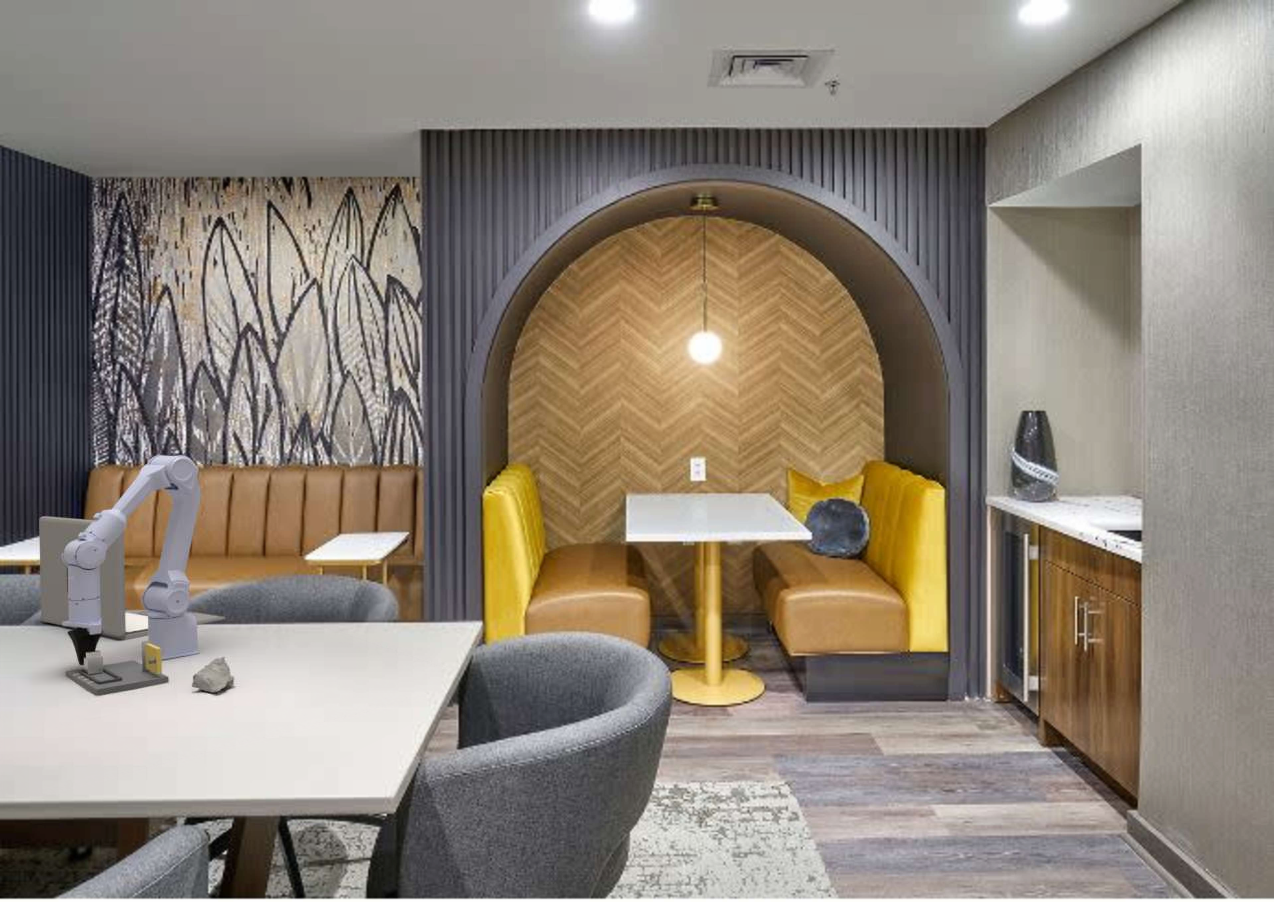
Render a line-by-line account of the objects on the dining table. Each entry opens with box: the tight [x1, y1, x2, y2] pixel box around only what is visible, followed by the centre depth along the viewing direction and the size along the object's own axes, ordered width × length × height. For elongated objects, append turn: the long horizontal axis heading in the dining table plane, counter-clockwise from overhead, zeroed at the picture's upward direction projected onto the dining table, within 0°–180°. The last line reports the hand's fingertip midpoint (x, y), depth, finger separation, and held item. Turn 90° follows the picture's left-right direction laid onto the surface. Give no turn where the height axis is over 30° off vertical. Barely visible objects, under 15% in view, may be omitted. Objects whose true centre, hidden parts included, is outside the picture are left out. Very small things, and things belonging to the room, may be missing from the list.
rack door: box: [145, 643, 163, 674], centre depth 197 cm, size 2×7×5 cm, turn 45°
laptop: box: [38, 515, 226, 641], centre depth 250 cm, size 36×28×29 cm
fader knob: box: [83, 650, 104, 675], centre depth 199 cm, size 3×2×4 cm
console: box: [65, 640, 170, 697], centre depth 198 cm, size 13×20×7 cm, turn 45°
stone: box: [191, 656, 235, 693], centre depth 193 cm, size 6×12×4 cm, turn 177°
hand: (85, 664), depth 202 cm, fingers closed
